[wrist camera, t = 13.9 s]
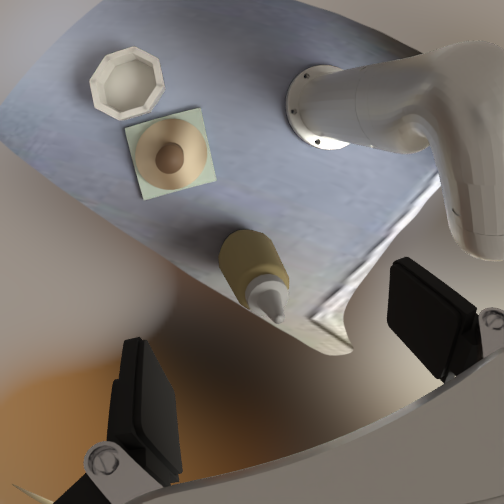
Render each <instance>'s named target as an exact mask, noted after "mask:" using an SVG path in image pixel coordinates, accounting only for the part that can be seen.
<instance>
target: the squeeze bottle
mask: <svg viewBox="0 0 504 504" xmlns="http://www.w3.org/2000/svg"><path fill="white" fill-rule="evenodd" d="M218 259H219V268H220V269H221V271H222V273H223V275H224V277H225V278H226V280H227V282H228V284H229V285H230V287H231V289H232V291H233V292H234V294H235V296H236V298H237V299H238V301H239V303H240V304H241V305H242V306H244V307H246V308H247V309H250V310H251V312H253V313H254V314H256V315H257V316H263V317H267V316H268V317H269V318H270V319H271V320H272V321H273V322H274V323H276V324H279V323H282V322H283V321H284V319H285V315H284V310H283V308H284V307H285V306H286V304H287V302H288V300H289V291H288V289H289V277H288V275H287V272H286V270H285V268H284V266H283V264H282V262H281V260H280V258H279V255H278V253H277V251H276V249H275V247H274V245H273V243H272V241H271V240H270V239H269V238H268V237H267V236H266V235H265V234H263V233H260V232H257V231H253V230H246V229H245V230H237V231H236V232H234V233H232V234H230V235H229V236H228V238H227V239H226V240H225V241H224V243H223V245H222V247H221V250H220V253H219V256H218Z"/></svg>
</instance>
